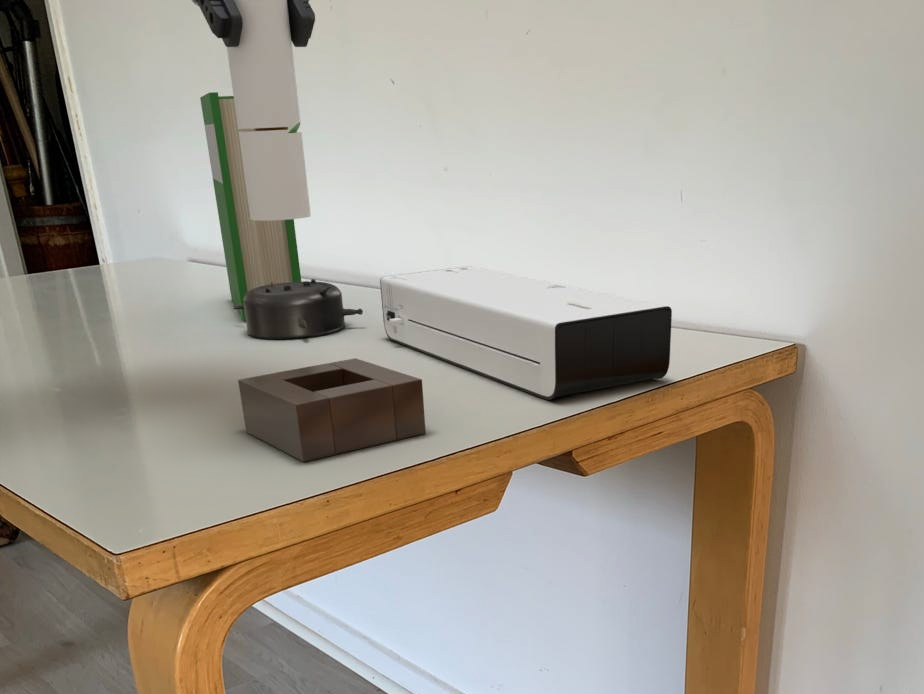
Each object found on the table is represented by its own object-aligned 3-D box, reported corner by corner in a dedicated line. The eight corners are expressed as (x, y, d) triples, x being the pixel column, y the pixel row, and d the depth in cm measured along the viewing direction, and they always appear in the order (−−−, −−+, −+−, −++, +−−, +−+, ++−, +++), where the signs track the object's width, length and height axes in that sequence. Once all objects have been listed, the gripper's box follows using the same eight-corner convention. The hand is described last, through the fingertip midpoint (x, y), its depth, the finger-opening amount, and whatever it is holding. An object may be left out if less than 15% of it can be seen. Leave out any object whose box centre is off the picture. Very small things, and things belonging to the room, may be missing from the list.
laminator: (669, 382, 83) (672, 305, 80) (545, 406, 78) (543, 325, 75) (476, 324, 110) (474, 265, 107) (375, 339, 105) (369, 278, 102)
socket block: (303, 462, 68) (295, 404, 66) (245, 432, 75) (237, 379, 73) (426, 433, 73) (422, 379, 71) (360, 407, 80) (355, 357, 78)
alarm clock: (372, 324, 112) (276, 322, 121) (365, 274, 110) (268, 275, 119) (301, 343, 104) (205, 338, 114) (293, 289, 102) (195, 289, 111)
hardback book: (305, 315, 120) (277, 89, 109) (243, 321, 118) (209, 92, 107) (286, 295, 135) (260, 94, 123) (231, 300, 133) (200, 97, 122)
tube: (271, 221, 68) (237, -40, 61) (239, 219, 71) (203, -32, 64) (322, 215, 71) (295, -37, 64) (289, 213, 74) (260, -28, 66)
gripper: (66, -233, 61) (171, -22, 58) (279, -204, 68) (383, -15, 65) (64, -110, 67) (158, 87, 64) (258, -95, 74) (352, 82, 71)
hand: (270, 34), depth 64 cm, fingers closed on tube, 4 cm apart
